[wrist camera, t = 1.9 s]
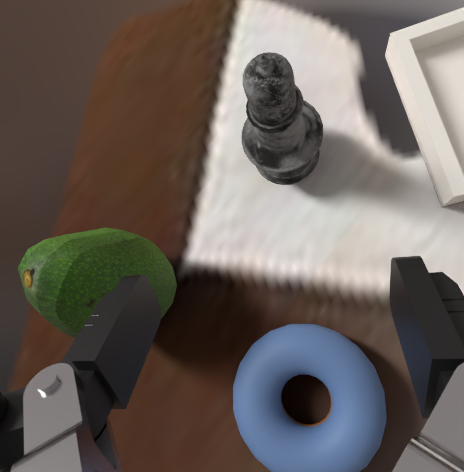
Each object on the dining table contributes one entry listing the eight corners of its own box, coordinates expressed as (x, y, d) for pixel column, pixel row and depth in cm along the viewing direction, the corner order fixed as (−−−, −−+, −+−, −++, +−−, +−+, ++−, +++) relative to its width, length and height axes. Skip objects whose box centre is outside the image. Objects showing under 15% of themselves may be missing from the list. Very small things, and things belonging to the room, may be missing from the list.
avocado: (124, 231, 32) (10, 190, 20) (204, 257, 29) (127, 227, 18) (92, 319, 31) (-45, 327, 19) (171, 352, 28) (69, 385, 17)
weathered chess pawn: (317, 112, 29) (312, -11, 18) (328, 180, 28) (332, 94, 16) (246, 128, 30) (200, 22, 19) (255, 193, 29) (211, 122, 18)
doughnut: (394, 338, 25) (400, 348, 20) (373, 489, 24) (375, 532, 19) (257, 308, 28) (238, 311, 24) (235, 438, 27) (211, 465, 23)
